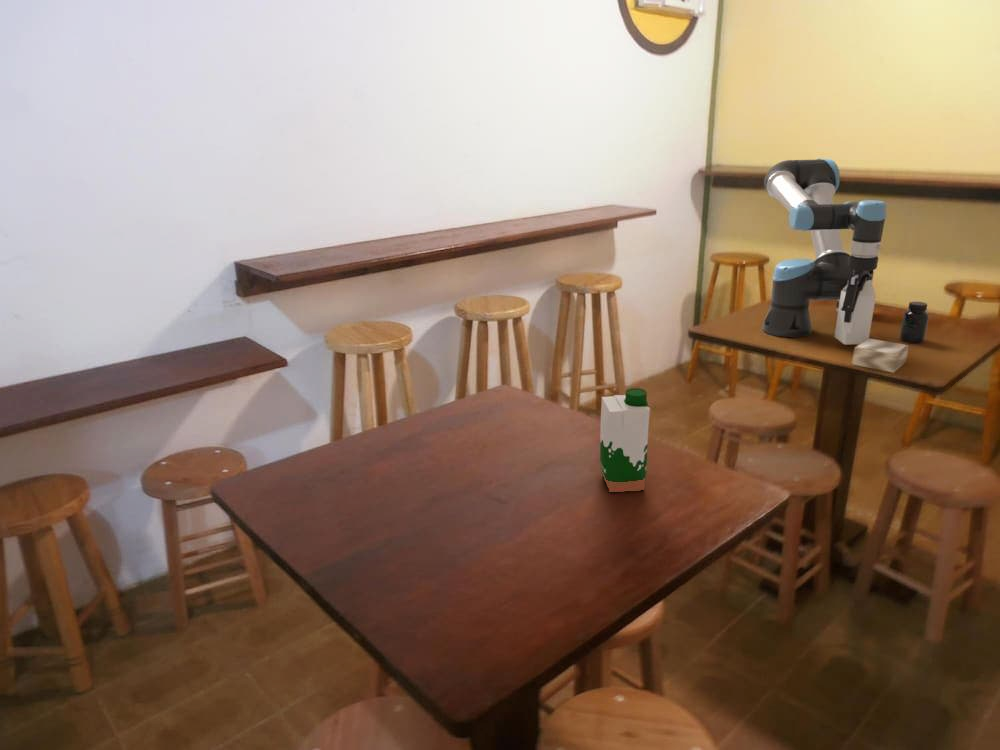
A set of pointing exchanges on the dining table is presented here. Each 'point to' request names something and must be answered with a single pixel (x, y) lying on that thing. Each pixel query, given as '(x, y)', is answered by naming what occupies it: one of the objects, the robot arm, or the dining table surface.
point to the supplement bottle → (914, 323)
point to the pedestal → (880, 355)
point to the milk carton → (857, 316)
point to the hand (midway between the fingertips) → (852, 327)
